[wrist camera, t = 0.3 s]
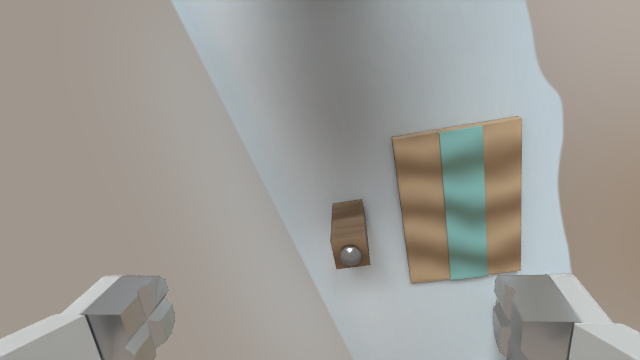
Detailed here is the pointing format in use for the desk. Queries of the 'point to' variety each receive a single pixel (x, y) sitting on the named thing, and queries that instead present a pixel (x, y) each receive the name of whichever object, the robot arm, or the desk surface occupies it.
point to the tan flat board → (461, 199)
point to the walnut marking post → (349, 235)
